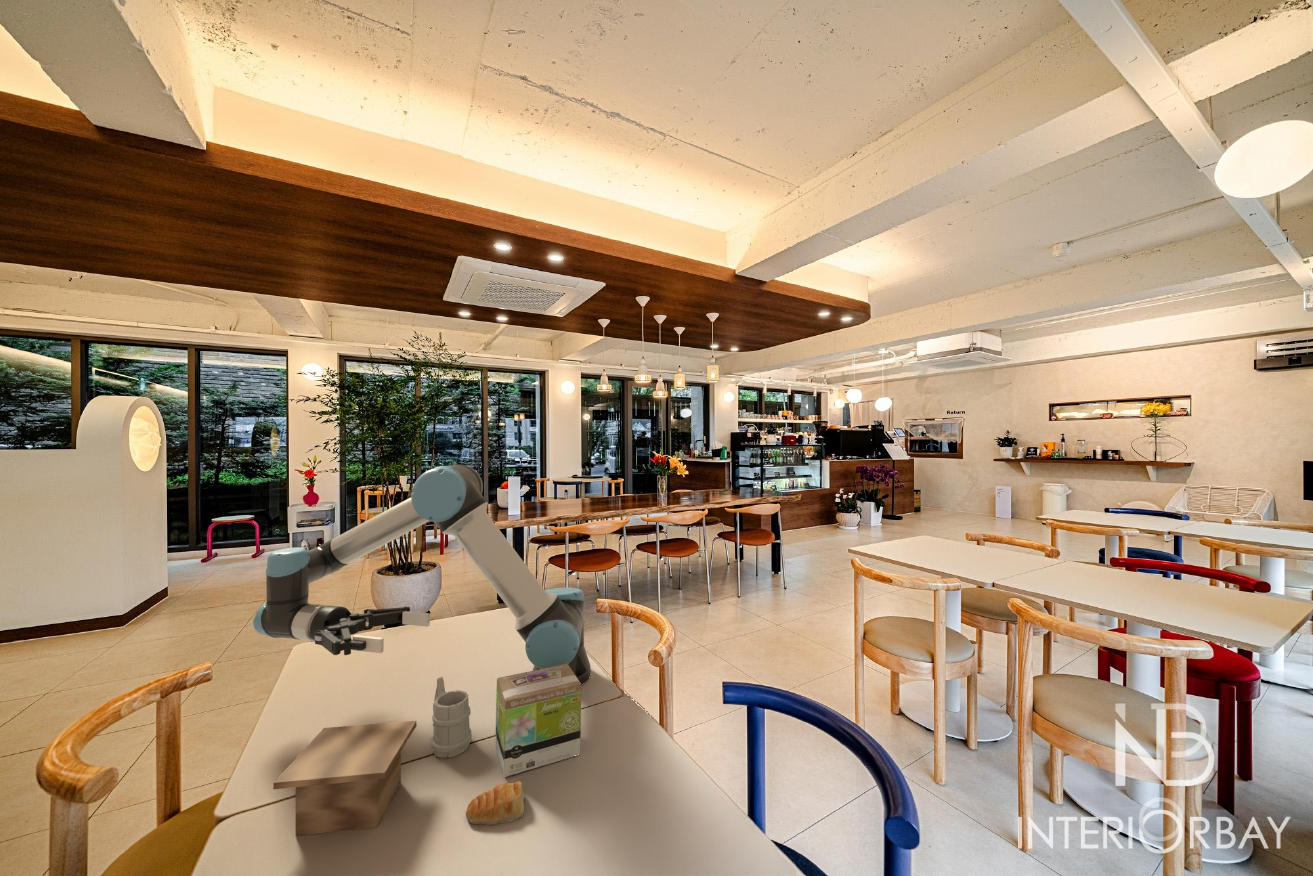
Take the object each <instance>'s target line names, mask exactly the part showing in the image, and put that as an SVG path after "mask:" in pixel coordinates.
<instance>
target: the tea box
mask: <svg viewBox="0 0 1313 876" xmlns="http://www.w3.org/2000/svg"><path fill="white" fill-rule="evenodd" d="M495 702H496V703H495V707H496V708H495V743H494V745H495V751H496V754H497V757H498V760H499V764H500V768H501V771H502V775H503V778H504V779H505V778H508V777H510V776H513V775H516V774H520V773H523V772H526V771H529V770H533V769H536V768H539V767H542V766H546V765H551V764H553V763H557V762H560V761H564V760H567V758H568V759H570V758H569V757H571V758H574V757H573V756H574V755H578V754H579V755H580V754H581V740H582V739H581V736H582V732H581V731H582V722H581V721H582V685H581V683H580V681H579V680H578V678H577V677H576V675H575V674H574V673H573V671H572V670H571V668H570V667H569V665H568V664H563V665H558V666H553V667H548V668H543V669H539V670H534V671H533V670H530V671H526V672H521V673H514V674H511V675H506V676H501V677H500V676H499V677H498V678H496V699H495ZM563 759H564V760H563Z"/></svg>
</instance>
